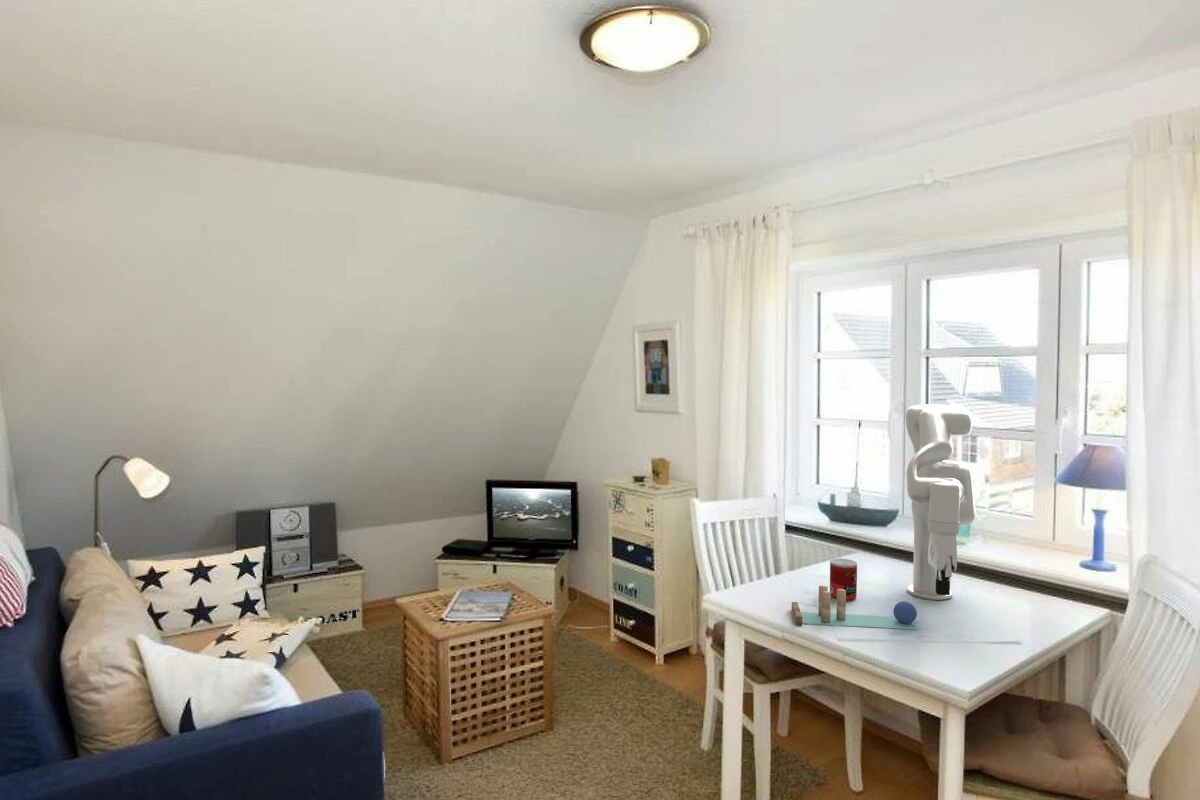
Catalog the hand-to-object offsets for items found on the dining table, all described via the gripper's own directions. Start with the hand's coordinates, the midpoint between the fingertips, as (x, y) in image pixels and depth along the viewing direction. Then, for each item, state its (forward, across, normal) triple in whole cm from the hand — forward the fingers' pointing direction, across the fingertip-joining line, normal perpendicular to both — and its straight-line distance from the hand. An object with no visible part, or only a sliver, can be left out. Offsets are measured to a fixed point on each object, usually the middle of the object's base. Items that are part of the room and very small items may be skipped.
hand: (942, 594), depth 196 cm
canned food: (+9, -21, -22) cm, 32 cm away
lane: (+9, -1, -22) cm, 24 cm away
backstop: (+9, -1, -38) cm, 39 cm away
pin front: (+9, -1, -26) cm, 28 cm away
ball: (+6, -1, -9) cm, 11 cm away
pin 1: (+9, -4, -31) cm, 32 cm away
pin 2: (+9, +1, -31) cm, 32 cm away
